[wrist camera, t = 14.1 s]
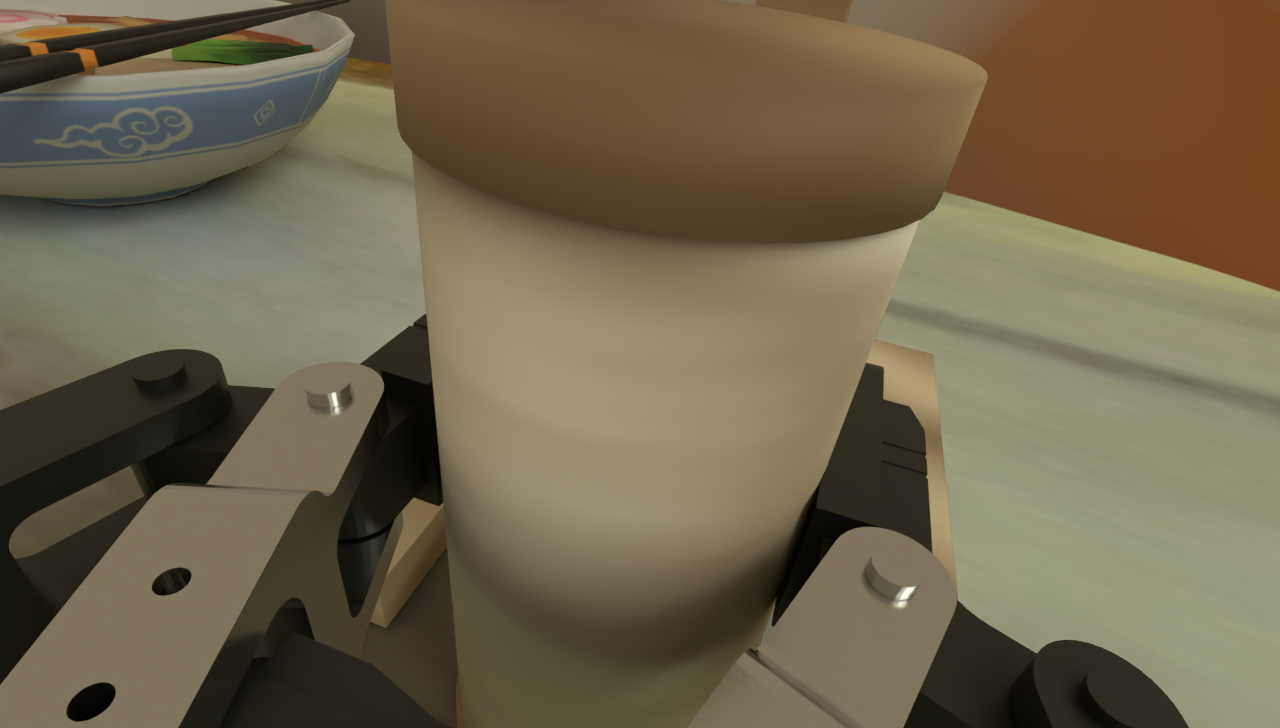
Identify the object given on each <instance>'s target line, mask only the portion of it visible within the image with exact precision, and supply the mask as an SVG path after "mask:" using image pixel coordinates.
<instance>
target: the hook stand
mask: <svg viewBox="0 0 1280 728" xmlns="http://www.w3.org/2000/svg"><path fill="white" fill-rule="evenodd" d="M852 1H853V0H757V2H756V6H759V7H765V8H771V9H776V10H782V11H787V12H793V13H798V14H804V15H809V16H814V17H819V18H824V19H829V20H834V21H839V22H843V23H847V20H848V16H849V12H850V8H851V5H852ZM866 362H867V363H870V364H874V365H878V366H882V367H884V392H883V399H884V400H888V401H892V402H895V403H899V404H903V405H906V406H910V408H911V409H912V411H913V413H914V414H915V416H916V417H917V419H918V420H919V422H920V424H921V425H922V427H923V428H924V430H925V440H926V456H925V458H926V459H927V472H928V474H927V477H926V478H928V488H929V504H930V519H931V535H932V551H933V555H934V556H935V557H936V558H937V559H938V560H939V561H940V562H941V563H942V565H943V566H944V567H945V568H946V570H947V571H948V573H949V575H950V577H951V578H952V581H953V583H954V586H955V590H956V595H957V586H956V576H955V566H954V556H953V546H952V536H951V527H950V517H949V507H948V497H947V487H946V477H945V467H944V457H943V448H942V438H941V428H940V418H939V408H938V398H937V388H936V379H935V369H934V359H933V354H929V353H926V352H922V351H918V350H914V349H910V348H906V347H902V346H898V345H894V344H890V343H886V342H882V341H879V340H874V343H873V345H872V348H871V351H870V353H869V356H868V359H867V361H866ZM402 514H403V529H402V532H401V535H400V538H399V541H398V544H397V546H396V549H395V552H394V555H393V558H392V561H391V564H390V566H389V569H388V572H387V575H386V578H385V581H384V584H383V586H382V589H381V592H380V595H379V598H378V601H377V604H376V607H375V609H374V612H373V615H372V618H371V621H370V622H372V623H374V624H377V625H379V626H382V627H384V628H387V627H388V625H389V624H390V623H391V621H392V620H393V619H394V617H395V616H396V615H397V613H398V612H399V611H400V609H401V608H402V607H403V605H404V604H405V603H406V601H407V600H408V599H409V597H410V596H411V595H412V593H413V592H414V591H415V589H416V588H417V587H418V585H419V584H420V583H421V581H422V580H423V579H424V577H425V576H426V575H427V573H428V572H429V570H430V569H431V568H432V566H433V565H434V564H435V562H436V561H437V560H438V558H439V557H440V556H441V554H442V553H443V552H444V550H445V549H446V548H447V539H446V527H445V516H444V505H443V503H442V504H441V505H440V507H439V506H436V505H433V504H430V503H428V502H425V501H422V500H419V499H416V498H413V499H412V500H411V501H410V502H409V503H408V505H407V506H406V507H405V508H404V509H403V510H402ZM957 600H958V596H957Z"/></svg>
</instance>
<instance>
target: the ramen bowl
mask: <svg viewBox="0 0 1280 728" xmlns="http://www.w3.org/2000/svg"><path fill="white" fill-rule="evenodd" d="M349 1H350V0H317V1H311V2H303V3H296V4H290V3H285V2H279V1H274V0H0V194H1V195H11V196H28V197H38V198H42V199H46V200H51V201H55V202H60V203H65V204H72V205H85V206H97V207H106V206H118V205H130V204H141V203H147V202H153V201H158V200H164V199H170V198H175V197H178V196H180V195H183V194H185V193H188V192H190V191H193V190H195V189H198V188H200V187H202V186H203V185H205V184H206V183H208V182H209V181H210V180H212V179H214V178H217V177H220V176H223V175H226V174H229V173H231V172H234V171H237V170H240V169H242V168H245V167H248V166H250V165H253V164H256V163H258V162H261V161H264V160H266V159H267V158H268V157H270V156H271V155H273V154H274V153H275V152H277V151H278V150H279V149H281V148H282V147H284V146H285V145H286V144H288V143H289V142H290V141H291V140H292V139H293V138H294V137H295V136H296V135H297V134H298V133H300V132H301V131H302V130H303V129H304V128H305V127H306V126H307V125H308V124H309V123H310V122H311V120H312V119H313V118H314V116H315V115H316V114H317V112H318V111H319V109H320V108H321V107H322V105H323V104H324V103H325V101H326V100H327V98H328V96H329V95H330V93H331V91H332V89H333V87H334V85H335V83H336V81H337V79H338V78H339V76H340V74H341V72H342V70H343V68H344V65H345V62H346V59H347V56H348V53H349V50H350V47H351V44H352V41H353V38H354V35H355V34H354V33H353V32H352V31H351V30H350V29H349V27H348V26H347V25H346V24H345V23H344V22H343V20H342V19H340V18H338V17H334V16H331V15H328V14H324V13H322V12H319V11H316V10H319V9H323V8H327V7H331V6H334V5H338V4H342V3H346V2H349Z"/></svg>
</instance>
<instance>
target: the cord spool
mask: <svg viewBox="0 0 1280 728" xmlns="http://www.w3.org/2000/svg"><path fill="white" fill-rule="evenodd" d="M385 4H386V14H387V24H388V34H389V43H390V54H391V64H392V74H393V84H394V94H395V104H396V114H397V125H398V129H399V132H400V135H401V138H402V139H403V141H404V142H405V143H406V144H407V145H408V147H409V148H410V149H411V150H412V157H413V168H414V180H415V191H416V202H417V213H418V225H419V236H420V247H421V258H422V269H423V281H424V292H425V303H426V314H427V325H428V337H429V348H430V359H431V370H432V382H433V393H434V404H435V415H436V426H437V438H438V449H439V460H440V471H441V483H442V494H443V505H444V516H445V527H446V539H447V550H448V561H449V572H450V583H451V595H452V606H453V617H454V628H455V640H456V651H457V662H458V674H457V682H456V692H455V698H456V718H457V728H687V727H688V726H689V724H690V723H691V721H692V720H693V719H694V717H695V716H696V715H697V713H698V712H699V711H700V709H701V708H702V707H703V705H704V704H705V703H706V701H707V700H708V699H709V697H710V696H711V694H712V693H713V692H714V690H715V689H716V688H717V686H718V685H719V684H720V682H721V681H722V680H723V678H724V677H725V676H726V674H727V673H728V672H729V670H730V669H731V668H732V666H733V665H734V664H735V662H736V661H737V660H738V659H739V658H740V656H741V655H742V654H743V653H744V652H745V651H747V650H748V649H750V648H751V649H753V650H754V651H755V650H757V649H758V647H759V645H760V642H761V640H762V637H763V634H764V632H765V629H766V626H767V624H768V621H769V618H770V616H771V613H772V610H773V608H774V605H775V603H776V597H777V594H778V592H779V589H780V586H781V584H782V581H783V578H784V576H785V573H786V570H787V568H788V565H789V562H790V560H791V557H792V554H793V552H794V549H795V546H796V544H797V541H798V538H799V536H800V533H801V530H802V528H803V525H804V522H805V520H806V517H807V514H808V512H809V509H810V506H811V504H812V501H813V498H814V496H815V493H816V490H817V488H818V485H819V482H820V480H821V478H822V476H823V474H824V472H825V470H826V467H827V465H828V462H829V459H830V457H831V454H832V451H833V449H834V446H835V444H836V441H837V438H838V436H839V433H840V430H841V428H842V425H843V422H844V420H845V417H846V414H847V412H848V409H849V406H850V404H851V401H852V398H853V396H854V393H855V391H856V388H857V385H858V383H859V380H860V377H861V375H862V372H863V369H864V367H865V364H866V361H867V359H868V356H869V353H870V351H871V348H872V345H873V343H874V340H875V338H876V335H877V332H878V330H879V327H880V324H881V322H882V319H883V316H884V314H885V311H886V308H887V306H888V303H889V300H890V298H891V295H892V292H893V290H894V287H895V285H896V282H897V279H898V277H899V274H900V271H901V269H902V266H903V263H904V261H905V258H906V255H907V253H908V250H909V247H910V245H911V242H912V239H913V237H914V234H915V232H916V229H917V226H918V224H919V221H920V219H922V218H924V217H925V216H926V215H928V214H929V213H930V212H931V211H933V210H934V209H935V207H936V206H937V204H938V202H939V201H940V199H941V197H942V194H943V191H944V189H945V186H946V184H947V181H948V179H949V176H950V173H951V171H952V168H953V166H954V163H955V161H956V158H957V155H958V153H959V150H960V148H961V145H962V143H963V140H964V137H965V135H966V132H967V130H968V127H969V124H970V122H971V119H972V117H973V114H974V112H975V109H976V107H977V104H978V101H979V99H980V96H981V94H982V91H983V89H984V86H985V83H986V81H987V78H988V76H987V72H986V71H985V70H984V69H983V68H982V67H981V66H980V65H978V64H976V63H974V62H972V61H971V60H969V59H967V58H964V57H962V56H960V55H958V54H955V53H953V52H950V51H947V50H944V49H942V48H939V47H935V46H933V45H929V44H926V43H923V42H920V41H916V40H912V39H909V38H905V37H902V36H898V35H895V34H891V33H886V32H882V31H878V30H874V29H870V28H865V27H861V26H857V25H853V24H848V23H843V22H839V21H834V20H829V19H824V18H819V17H814V16H809V15H804V14H798V13H793V12H787V11H782V10H776V9H771V8H765V7H759V6H752V5H746V4H740V3H733V2H727V1H720V0H385Z"/></svg>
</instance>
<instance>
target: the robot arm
mask: <svg viewBox="0 0 1280 728" xmlns="http://www.w3.org/2000/svg"><path fill="white" fill-rule="evenodd" d="M883 392H884V367H882V366H878V365H874V364H870V363H867V362H866V364H865V367H864V369H863V372H862V375H861V377H860V380H859V383H858V385H857V388H856V391H855V393H854V396H853V398H852V401H851V404H850V406H849V409H848V412H847V414H846V417H845V420H844V422H843V425H842V428H841V430H840V433H839V436H838V438H837V441H836V444H835V446H834V449H833V451H832V454H831V457H830V459H829V462H828V465H827V467H826V470H825V472H824V474H823V476H822V478H821V480H820V482H819V485H818V488H817V490H816V493H815V496H814V498H813V501H812V504H811V506H810V509H809V512H808V514H807V517H806V520H805V522H804V525H803V528H802V530H801V533H800V536H799V538H798V541H797V544H796V546H795V549H794V552H793V554H792V557H791V560H790V562H789V565H788V568H787V570H786V573H785V576H784V578H783V581H782V584H781V586H780V589H779V592H778V594H777V597H776V603H775V608H774V614H773V619H772V625H771V626H774V627H773V629H772V630H771V632H770V633H769V634H768V636H767V637H766V638H765V640H764V641H763V643H762V644H761V645H760V646H759V647H758V649H757V650H755V651H754V650H753V649H751V648H750V649H748V650H747V651H745V652H744V653H743V654H742V655H741V656H740V658H739V659H738V660H737V661H736V662H735V664H734V665H733V666H732V668H731V669H730V670H729V672H728V673H727V674H726V676H725V677H724V678H723V680H722V681H721V682H720V684H719V685H718V686H717V688H716V689H715V690H714V692H713V693H712V694H711V696H710V697H709V699H708V700H707V701H706V703H705V704H704V705H703V707H702V708H701V709H700V711H699V712H698V713H697V715H696V716H695V717H694V719H693V720H692V721H691V723H690V724H689V726H688V727H687V728H1189V727H1188V725H1187V724H1186V722H1185V720H1184V719H1183V717H1182V715H1181V714H1180V712H1179V711H1178V709H1177V708H1176V707H1175V705H1174V704H1173V702H1172V701H1171V700H1170V699H1169V698H1168V696H1167V695H1166V694H1165V693H1164V692H1163V691H1162V690H1161V689H1160V688H1159V687H1158V686H1157V685H1156V684H1155V683H1154V682H1153V681H1152V680H1151V679H1150V678H1149V677H1147V676H1146V675H1145V674H1144V673H1143V672H1142V671H1140V670H1139V669H1138V668H1136V667H1135V666H1133V665H1132V664H1130V663H1129V662H1128V661H1126V660H1124V659H1123V658H1121V657H1119V656H1117V655H1116V654H1114V653H1112V652H1110V651H1108V650H1105V649H1103V648H1101V647H1098V646H1095V645H1093V644H1090V643H1086V642H1081V641H1075V640H1060V641H1055V642H1052V643H1049V644H1047V645H1046V646H1044V647H1043V648H1042V649H1041V650H1040V651H1039V652H1038V653H1037V654H1036V653H1035V652H1033V651H1031V650H1030V649H1028V648H1026V647H1025V646H1023V645H1021V644H1020V643H1018V642H1016V641H1015V640H1013V639H1011V638H1010V637H1008V636H1006V635H1005V634H1003V633H1001V632H1000V631H998V630H996V629H995V628H993V627H991V626H990V625H988V624H986V623H985V622H983V621H982V620H980V619H979V618H977V617H976V616H975V615H974V614H972V613H971V612H970V611H969V610H967V609H966V608H965V607H964V606H963V605H962V604H961V603H960V602H959V601H958V600H957V595H956V590H955V586H954V583H953V581H952V578H951V577H950V575H949V573H948V571H947V570H946V568H945V567H944V566H943V565H942V563H941V562H940V561H939V560H938V559H937V558H936V557H935V556H934V555H933V551H932V535H931V519H930V504H929V488H928V478H926V477H927V474H928V472H927V459H926V458H925V456H926V440H925V430H924V428H923V427H922V425H921V424H920V422H919V420H918V419H917V417H916V416H915V414H914V413H913V411H912V409H911V408H910V406H906V405H903V404H899V403H895V402H892V401H888V400H884V399H883ZM128 466H131V468H132V470H133V472H134V474H135V476H136V479H137V481H138V483H139V485H140V487H141V489H142V491H143V494H144V497H142V498H140V499H138V500H136V501H134V502H133V503H131V504H129V505H127V506H125V507H123V508H121V509H120V510H118V511H116V512H114V513H112V514H110V515H108V516H106V517H105V518H103V519H101V520H99V521H97V522H95V523H93V524H92V525H90V526H88V527H86V528H84V529H82V530H80V531H78V532H77V533H75V534H73V535H71V536H69V537H67V538H65V539H64V540H62V541H60V542H58V543H56V544H54V545H52V546H50V547H49V548H47V549H45V550H43V551H41V552H39V553H37V554H35V555H32V556H29V557H25V558H18V559H14V557H13V556H12V554H11V553H10V550H9V540H10V537H11V535H12V533H13V531H14V530H15V529H16V527H17V526H18V525H19V524H20V523H21V522H22V521H23V520H25V519H26V518H27V517H29V516H30V515H32V514H34V513H36V512H37V511H39V510H41V509H43V508H45V507H47V506H49V505H51V504H53V503H55V502H57V501H59V500H62V499H64V498H66V497H68V496H70V495H72V494H74V493H76V492H78V491H80V490H82V489H84V488H86V487H88V486H90V485H92V484H94V483H96V482H98V481H100V480H102V479H104V478H106V477H108V476H110V475H112V474H114V473H116V472H118V471H120V470H122V469H124V468H126V467H128ZM413 498H416V499H419V500H422V501H425V502H428V503H430V504H433V505H436V506H439V507H440V505H441V504H442V503H443V494H442V483H441V471H440V460H439V449H438V438H437V426H436V415H435V404H434V393H433V382H432V370H431V359H430V348H429V337H428V325H427V314H424V315H423V316H422V317H421V318H419V319H418V320H417V321H415V322H414V325H413V327H412V326H409V327H408V328H406V329H405V330H404V331H402V332H401V333H400V334H399V335H397V336H396V337H395V338H393V339H392V340H391V341H389V342H388V343H387V344H386V345H384V346H383V347H382V348H380V349H379V350H378V351H376V352H375V353H374V354H373V355H371V356H370V357H369V358H367V359H366V360H365V361H364V362H362V363H361V364H356V363H348V362H333V363H325V364H319V365H315V366H311V367H308V368H305V369H302V370H300V371H298V372H296V373H294V374H292V375H290V376H289V377H287V378H286V379H285V380H283V381H282V382H281V383H280V384H279V385H278V386H277V388H276V389H274V388H260V387H245V386H231V385H228V384H227V381H226V378H225V374H224V371H223V368H222V365H221V363H220V361H219V360H218V359H217V358H216V357H215V356H213V355H211V354H209V353H206V352H203V351H198V350H189V349H174V350H165V351H159V352H154V353H150V354H146V355H143V356H140V357H137V358H134V359H131V360H129V361H126V362H124V363H121V364H118V365H116V366H113V367H111V368H108V369H106V370H103V371H100V372H98V373H95V374H93V375H90V376H88V377H85V378H82V379H80V380H77V381H75V382H72V383H70V384H67V385H64V386H62V387H59V388H57V389H54V390H51V391H49V392H46V393H44V394H41V395H39V396H36V397H33V398H31V399H28V400H26V401H23V402H21V403H18V404H15V405H13V406H10V407H8V408H5V409H3V410H0V728H451V727H447V726H445V725H443V724H441V723H440V722H438V721H437V720H436V719H434V718H433V717H432V716H431V715H430V714H429V713H427V712H426V711H425V710H424V709H423V708H422V707H421V706H419V705H418V704H417V703H416V702H415V701H414V700H413V699H411V698H410V697H409V696H408V695H407V694H406V693H405V692H403V691H402V690H401V689H400V688H399V687H398V686H397V685H395V684H394V683H393V682H392V681H391V680H390V679H389V678H387V677H386V676H385V675H384V674H383V673H382V672H380V671H379V670H378V669H377V668H376V667H375V666H374V665H372V664H370V663H368V662H365V661H363V647H364V641H365V637H366V633H367V630H368V627H369V624H370V621H371V618H372V615H373V612H374V609H375V607H376V604H377V601H378V598H379V595H380V592H381V589H382V586H383V584H384V581H385V578H386V575H387V572H388V569H389V566H390V564H391V561H392V558H393V555H394V552H395V549H396V546H397V544H398V541H399V538H400V535H401V532H402V529H403V514H402V510H403V509H404V508H405V507H406V506H407V505H408V503H409V502H410V501H411V500H412V499H413Z"/></svg>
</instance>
